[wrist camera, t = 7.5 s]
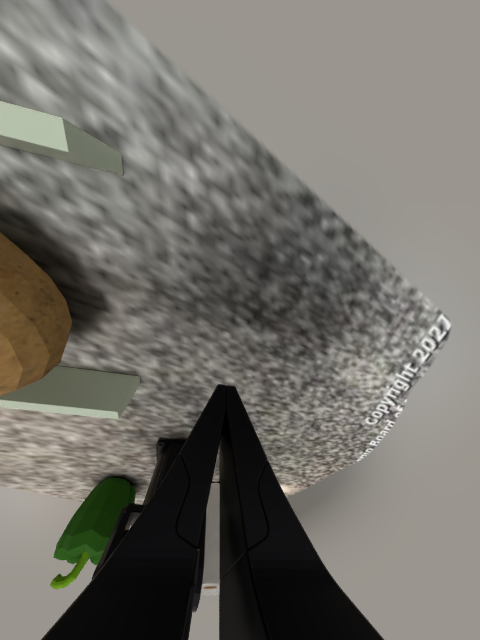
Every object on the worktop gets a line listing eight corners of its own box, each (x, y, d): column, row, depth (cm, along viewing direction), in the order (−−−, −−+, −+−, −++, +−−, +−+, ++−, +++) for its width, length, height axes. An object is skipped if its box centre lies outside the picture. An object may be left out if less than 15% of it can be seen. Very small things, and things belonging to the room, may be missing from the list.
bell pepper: (145, 475, 29) (106, 583, 20) (142, 494, 33) (108, 593, 24) (89, 468, 28) (22, 581, 19) (93, 490, 32) (38, 592, 23)
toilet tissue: (256, 490, 33) (263, 587, 24) (221, 510, 38) (217, 598, 29) (206, 476, 30) (193, 581, 21) (175, 500, 35) (154, 594, 26)
